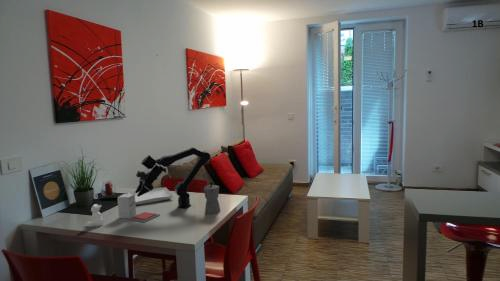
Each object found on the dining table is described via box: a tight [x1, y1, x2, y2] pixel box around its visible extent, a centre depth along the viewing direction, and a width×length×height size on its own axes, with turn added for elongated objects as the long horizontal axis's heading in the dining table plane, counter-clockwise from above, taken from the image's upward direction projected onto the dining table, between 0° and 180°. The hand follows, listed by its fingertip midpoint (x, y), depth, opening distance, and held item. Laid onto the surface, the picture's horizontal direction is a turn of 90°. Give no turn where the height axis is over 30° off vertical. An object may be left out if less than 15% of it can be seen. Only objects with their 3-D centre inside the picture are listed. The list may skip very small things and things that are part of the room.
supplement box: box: [117, 193, 137, 219], centre depth 206 cm, size 7×7×13 cm
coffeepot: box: [202, 181, 221, 215], centre depth 208 cm, size 15×9×18 cm, turn 13°
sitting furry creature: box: [84, 203, 105, 228], centre depth 194 cm, size 10×9×12 cm
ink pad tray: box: [128, 211, 160, 223], centre depth 203 cm, size 12×12×1 cm
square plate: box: [126, 187, 174, 206], centre depth 243 cm, size 27×27×4 cm
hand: (136, 194), depth 208 cm, fingers open, 9 cm apart
